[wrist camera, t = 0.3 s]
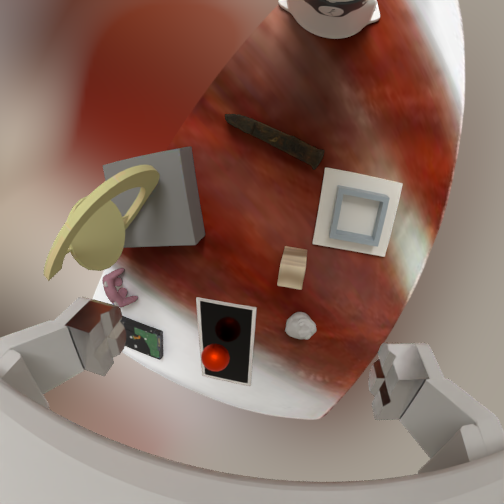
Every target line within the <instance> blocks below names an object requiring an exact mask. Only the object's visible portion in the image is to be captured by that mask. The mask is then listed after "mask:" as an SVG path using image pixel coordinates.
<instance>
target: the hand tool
mask: <svg viewBox="0 0 504 504" xmlns="http://www.w3.org/2000/svg"><path fill="white" fill-rule="evenodd" d="M225 120H226V121H227V122H228V123H229V124H230V125H232V126H234V127H235V128H239V129H240V130H242V131H243V132H245V133H248V134H251V135H252V136H254V137H257V138H259V139H261V140H263V141H265V142H267V143H269V144H270V145H272V146H274V147H277V148H278V149H280V150H282V151H284V152H286V153H288V154H290V155H292V156H294V157H296V158H297V159H299V160H301V161H304V162H305V163H308V164H309V165H311V166H312V169H313V170H315V169H316V168H317V166H318V165H319V164H320V162H321V160H322V158H323V155H324V150H323V149H317V148H316V147H314V146H310V145H309V144H307V143H305V142H303V141H301V140H300V139H298V138H296V137H295V136H291V135H288V134H286V133H283V132H281V131H279V130H277V129H274V128H272V127H270V126H268V125H265V124H263V123H261V122H258V121H256V120H254V119H251V118H248V117H246V116H241V115H239V114H238V115H236V114H225Z"/></svg>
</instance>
